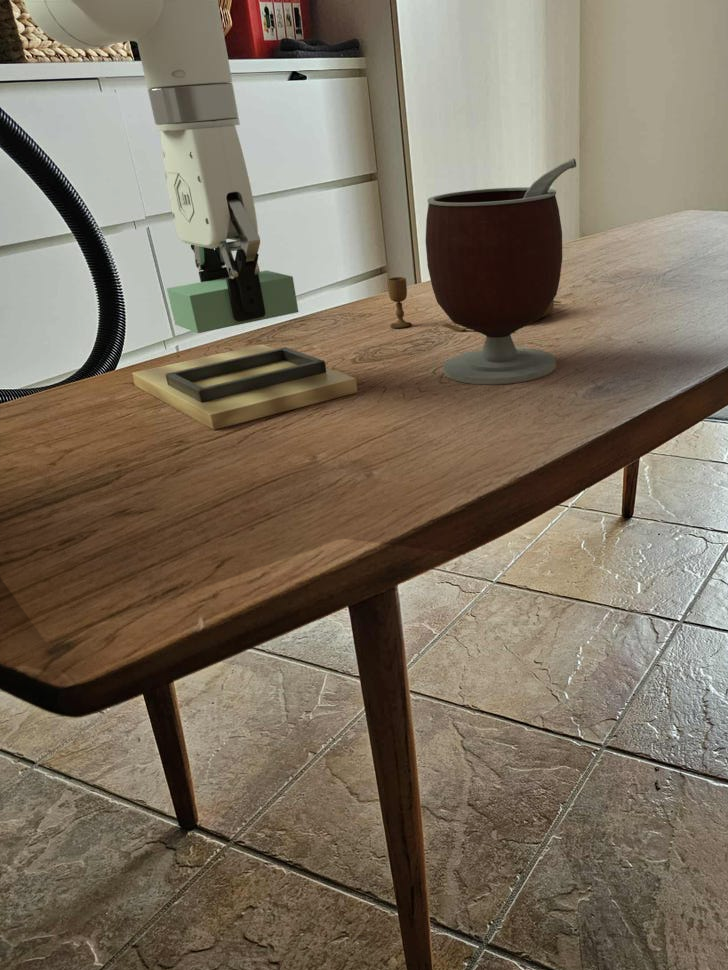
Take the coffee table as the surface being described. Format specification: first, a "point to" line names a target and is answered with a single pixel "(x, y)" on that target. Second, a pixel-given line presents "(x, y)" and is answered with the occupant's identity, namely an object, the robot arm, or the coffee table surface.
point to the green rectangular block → (228, 302)
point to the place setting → (399, 294)
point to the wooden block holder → (244, 384)
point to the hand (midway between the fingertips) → (235, 312)
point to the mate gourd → (496, 272)
